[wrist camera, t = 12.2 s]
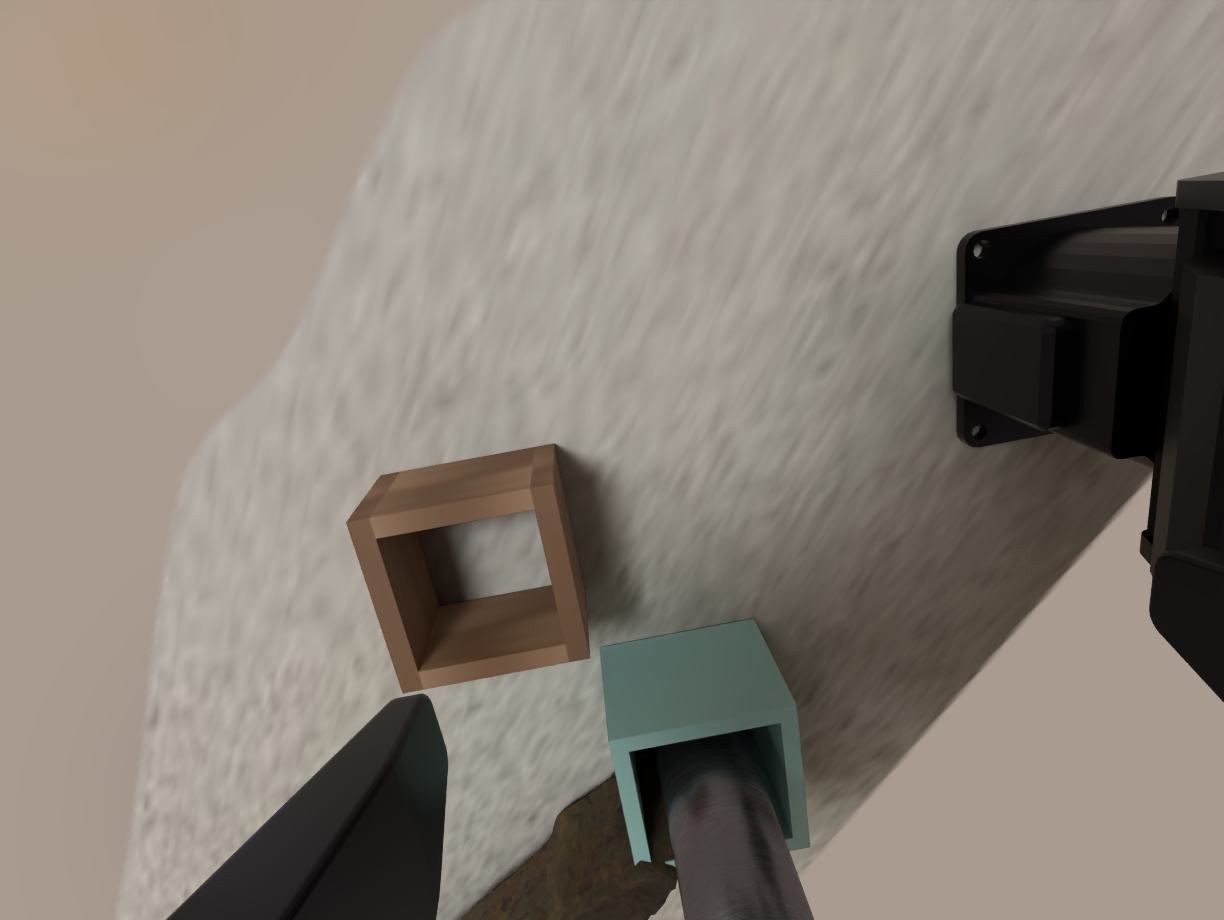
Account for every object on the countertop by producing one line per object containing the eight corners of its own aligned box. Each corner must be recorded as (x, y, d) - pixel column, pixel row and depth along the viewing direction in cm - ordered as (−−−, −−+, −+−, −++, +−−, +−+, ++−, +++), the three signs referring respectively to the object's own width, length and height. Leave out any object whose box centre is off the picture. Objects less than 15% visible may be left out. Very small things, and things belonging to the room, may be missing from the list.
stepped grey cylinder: (695, 644, 23) (842, 1100, 11) (745, 697, 24) (932, 1174, 12) (628, 692, 24) (699, 1182, 12) (679, 743, 25) (795, 1248, 12)
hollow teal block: (753, 618, 23) (796, 705, 19) (767, 742, 25) (810, 846, 21) (599, 647, 23) (608, 740, 19) (624, 769, 25) (638, 880, 21)
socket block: (554, 443, 21) (553, 484, 17) (585, 595, 22) (590, 658, 19) (380, 475, 21) (346, 522, 17) (426, 625, 22) (402, 693, 19)
